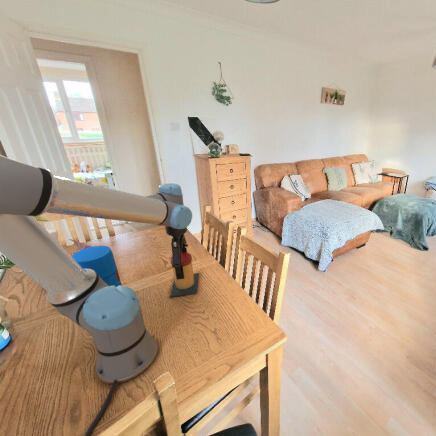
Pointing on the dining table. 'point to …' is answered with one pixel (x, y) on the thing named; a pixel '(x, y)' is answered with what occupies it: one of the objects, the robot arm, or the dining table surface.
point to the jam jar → (185, 277)
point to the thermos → (99, 263)
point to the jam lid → (184, 259)
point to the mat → (188, 291)
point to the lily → (81, 245)
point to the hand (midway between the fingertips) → (182, 269)
